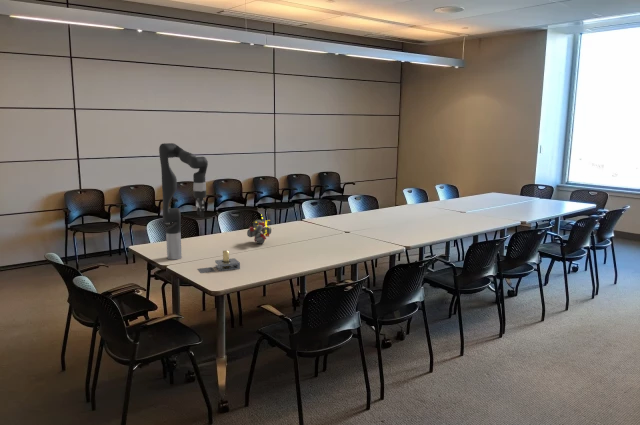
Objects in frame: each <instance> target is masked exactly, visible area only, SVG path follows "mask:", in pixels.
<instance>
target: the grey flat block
mask: <svg viewBox="0 0 640 425" xmlns="http://www.w3.org/2000/svg"><path fill="white" fill-rule="evenodd" d="M214 263H215V265H214V267H215V268H216V269H217V270H218V271H219V272H222V271H223V272H225V271H233V270H240V269H241V263H240V261H239V260H237V259H236V258H229V262H228V263H223V259H217V260H214ZM223 266H229V267H228V268H223Z"/></svg>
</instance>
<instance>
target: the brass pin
mask: <svg viewBox="0 0 640 425" xmlns="http://www.w3.org/2000/svg"><path fill="white" fill-rule="evenodd" d="M222 258H223V259H222V260H223V263H228V262H229V259H230V251H229V250H227V249H226V250H222ZM228 267H229V266H223V268H228Z"/></svg>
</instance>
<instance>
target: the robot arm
mask: <svg viewBox="0 0 640 425" xmlns="http://www.w3.org/2000/svg"><path fill="white" fill-rule="evenodd" d="M158 151H159V152H158V153H159V160H160V162H159V163H160V167H161V168H160V169H161V188H162V190H161V192H162V220H163V223H165V224H172V223H173V224H172V225H170V226H168V227H167V228H166V229H165V237H166V255H167V258H166V259H168V260H179V259H181V258H182V257H183V256H182V255H183V254H182V236H181V235H182V234H181V232H182V231H181V220H182V219H181V217H182V216H181V214H182V213H181V210H180V208H178V207H174V208H173V207H172V208H169V205H170V202H171V200H172V198H173V196H174V195H175V193H176V191H177V188H178V182H177V181H178V180H177V176H176V175H175V172H174V171H173V170H172V168H171V166H170V162H169V159H172V158H179V160H180V161H181V163H184V164H186V165H188V167H190V168H192V169H195V170H196V169H197V170H198V171H197V172H194V173H193V179H192V180H193V187H192V188H193V191H192V192H193V198H195V208H196V215H197V216H199V217H200V218H205V211H206V201H205V200H204V198H205V199H206V198H207V184H206V174H207V169H208V165H209V164H208V163H209V161H208V159H207V158H206V157H205V156H196V155H195V154H194V153H191V152H188V151H187V150H184V149H183V148H182V147H180V146H179V145H177V144H176V143H172V142H171V143H167V142H166V143H165V142H164V143H161V144H160V145H159V148H158Z"/></svg>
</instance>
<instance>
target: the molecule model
mask: <svg viewBox="0 0 640 425" xmlns="http://www.w3.org/2000/svg"><path fill="white" fill-rule="evenodd" d="M260 216H263V214H261V215H260ZM262 219H264V217H261V219H255V220H254V221H253V222H252V223H253V225H252V226H249V229H247V231H246V233H247V234H246V235H247V237H248V238H254V239H253V240H254V242H256V243H257V244H262V245H263V244H264V243H265V240H267V237H268V238H269V237H270V235H271V233H272V229H273V230H274V228H272V227H271V226H268V221H269V222H270V221H271V220H270V219H268V220H267V221H262ZM246 224H247V222H246Z"/></svg>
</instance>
